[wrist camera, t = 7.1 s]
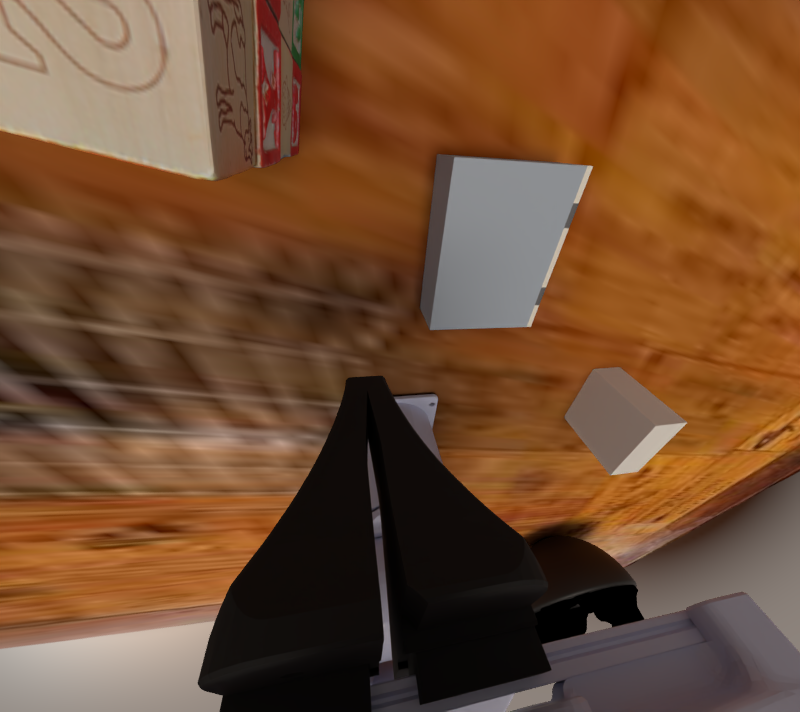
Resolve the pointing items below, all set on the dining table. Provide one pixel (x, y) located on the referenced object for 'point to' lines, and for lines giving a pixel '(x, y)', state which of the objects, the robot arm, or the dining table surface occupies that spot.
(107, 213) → the dining table surface
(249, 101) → the stack of blocks
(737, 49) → the dining table surface
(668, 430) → the light grey square block
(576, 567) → the coal bowl
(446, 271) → the gray rectangular block
